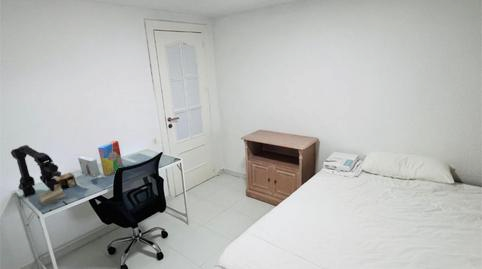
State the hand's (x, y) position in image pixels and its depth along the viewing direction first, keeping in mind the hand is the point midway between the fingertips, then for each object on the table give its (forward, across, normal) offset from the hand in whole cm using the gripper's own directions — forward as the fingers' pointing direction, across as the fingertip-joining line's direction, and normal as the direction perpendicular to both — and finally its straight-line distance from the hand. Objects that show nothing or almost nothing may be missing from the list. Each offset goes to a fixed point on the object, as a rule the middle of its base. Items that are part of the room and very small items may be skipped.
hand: (51, 189), depth 186 cm
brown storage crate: (+9, +17, -11) cm, 22 cm away
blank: (+8, 0, +1) cm, 8 cm away
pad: (+9, 0, 0) cm, 9 cm away
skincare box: (+9, +27, -36) cm, 46 cm away
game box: (+9, +15, -52) cm, 55 cm away
